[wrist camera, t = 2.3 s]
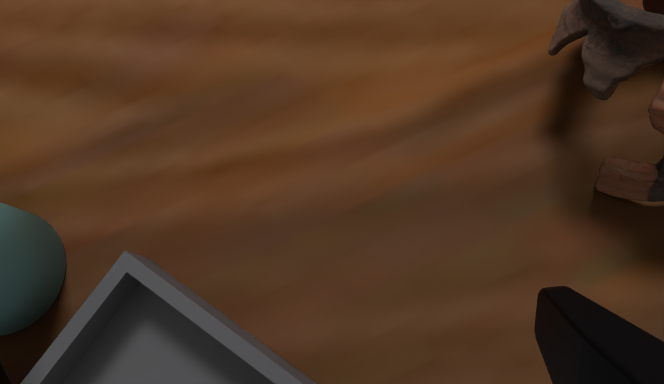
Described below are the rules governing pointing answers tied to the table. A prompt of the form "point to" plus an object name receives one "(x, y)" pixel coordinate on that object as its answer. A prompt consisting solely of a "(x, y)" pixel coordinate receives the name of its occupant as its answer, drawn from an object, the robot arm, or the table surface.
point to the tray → (155, 337)
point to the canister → (27, 268)
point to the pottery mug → (619, 76)
